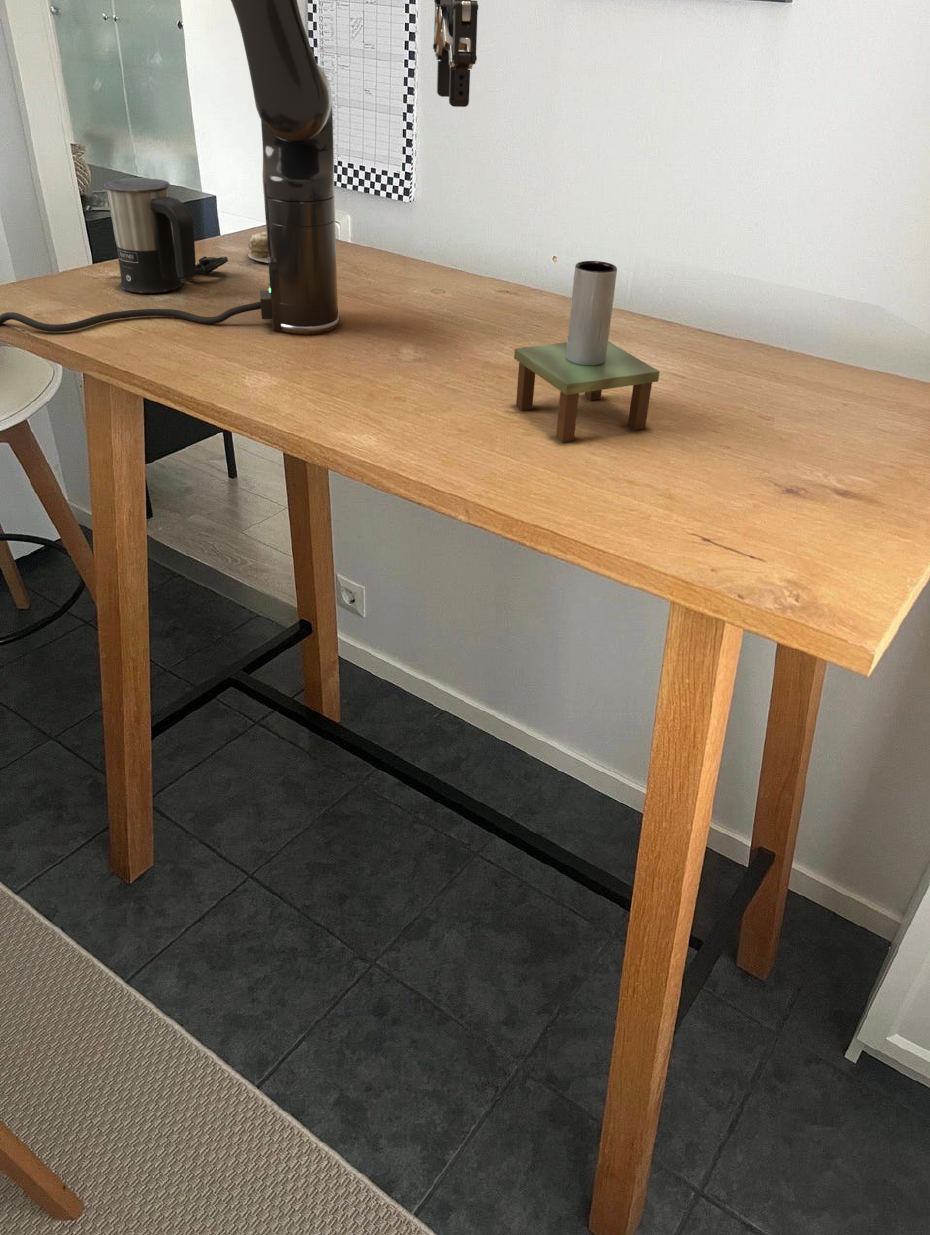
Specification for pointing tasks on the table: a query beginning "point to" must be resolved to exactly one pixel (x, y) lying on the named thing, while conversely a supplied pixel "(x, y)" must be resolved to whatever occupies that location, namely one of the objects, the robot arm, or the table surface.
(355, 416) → the table surface
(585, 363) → the grey hollow tube
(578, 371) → the plant stand
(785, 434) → the table surface
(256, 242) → the cake
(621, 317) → the table surface
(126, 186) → the milk frother
